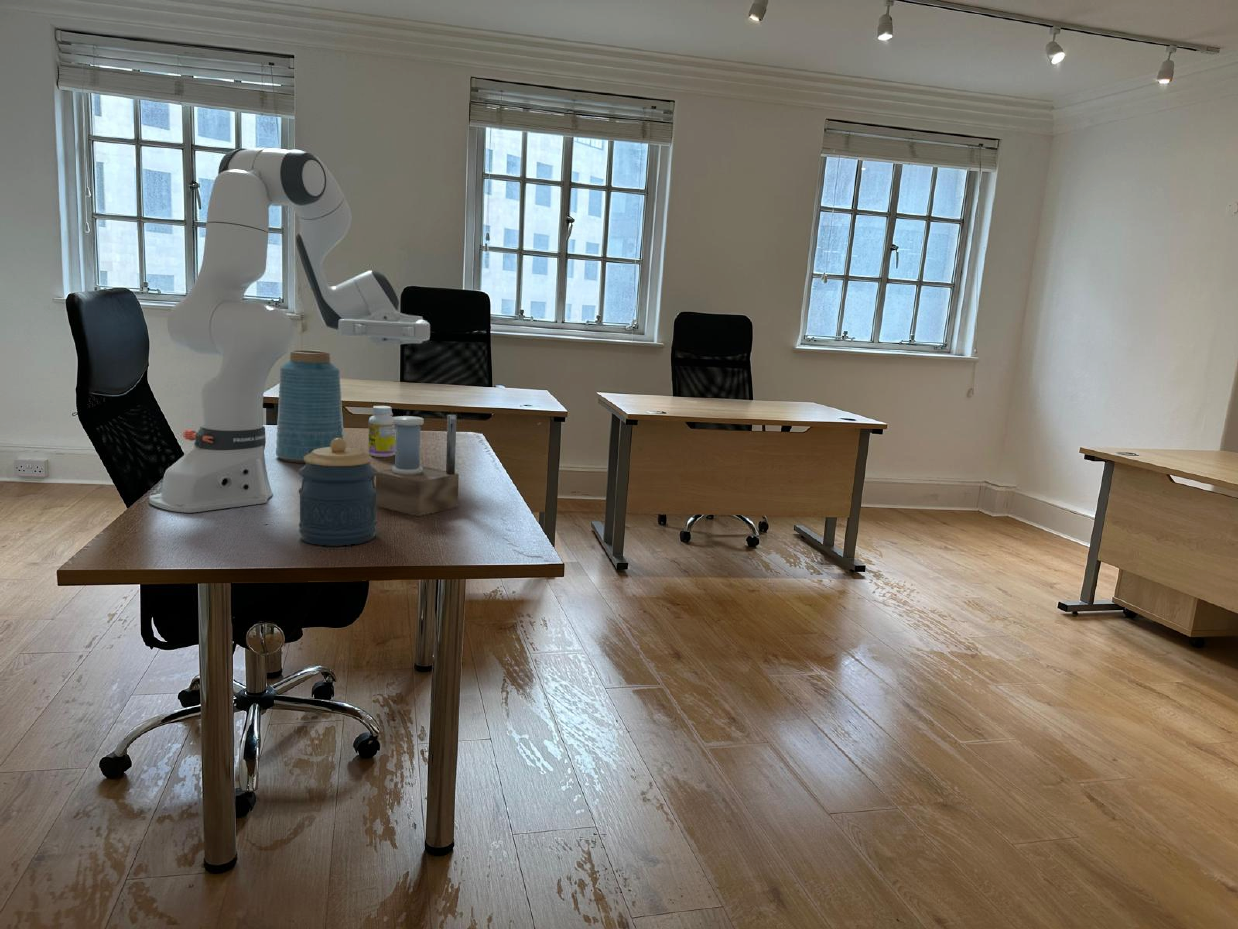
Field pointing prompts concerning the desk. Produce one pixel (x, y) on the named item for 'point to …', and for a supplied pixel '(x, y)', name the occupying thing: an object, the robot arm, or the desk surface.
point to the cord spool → (407, 445)
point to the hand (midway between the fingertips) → (384, 330)
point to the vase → (308, 405)
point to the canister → (337, 496)
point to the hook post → (451, 444)
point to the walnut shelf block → (417, 491)
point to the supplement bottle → (381, 432)
